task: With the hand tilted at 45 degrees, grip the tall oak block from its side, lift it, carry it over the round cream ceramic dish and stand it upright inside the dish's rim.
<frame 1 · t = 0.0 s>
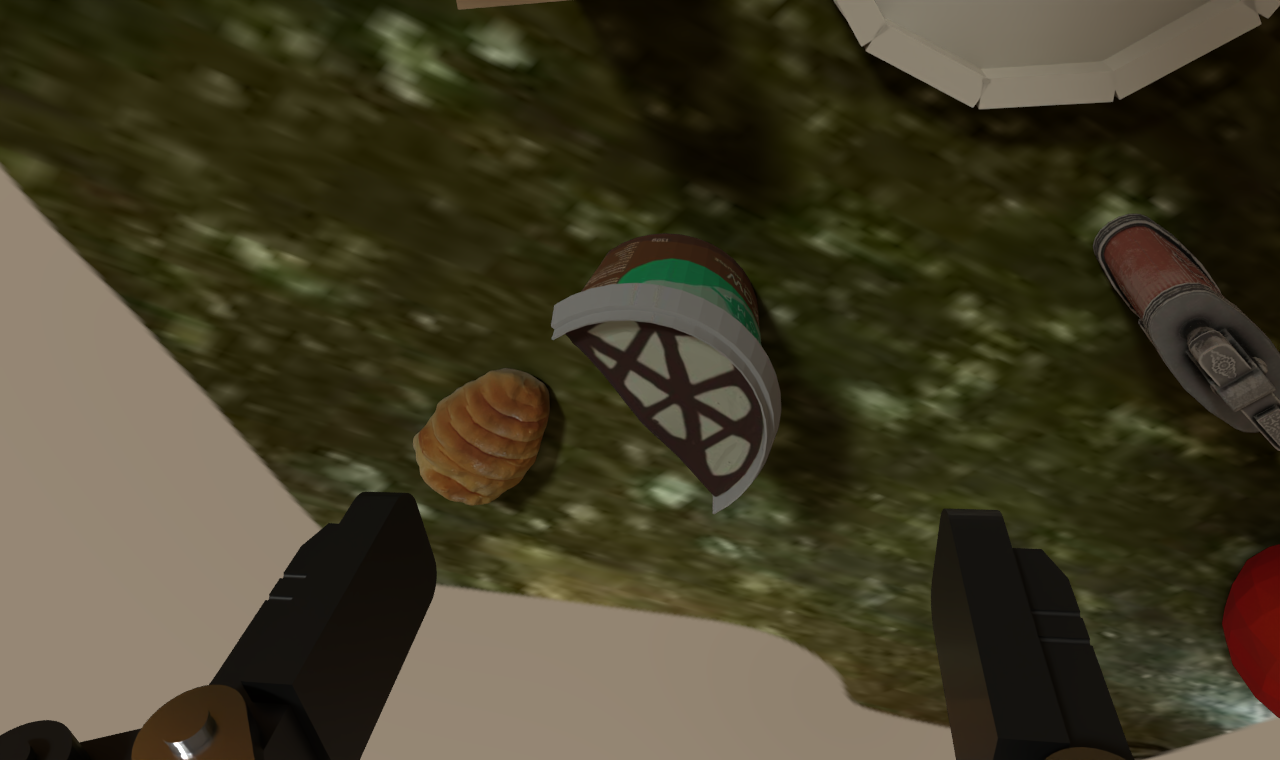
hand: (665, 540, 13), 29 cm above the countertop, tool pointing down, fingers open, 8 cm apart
food container: (712, 286, 43), on the countertop
lighter: (1157, 277, 40), on the countertop
pastry: (488, 420, 51), on the countertop
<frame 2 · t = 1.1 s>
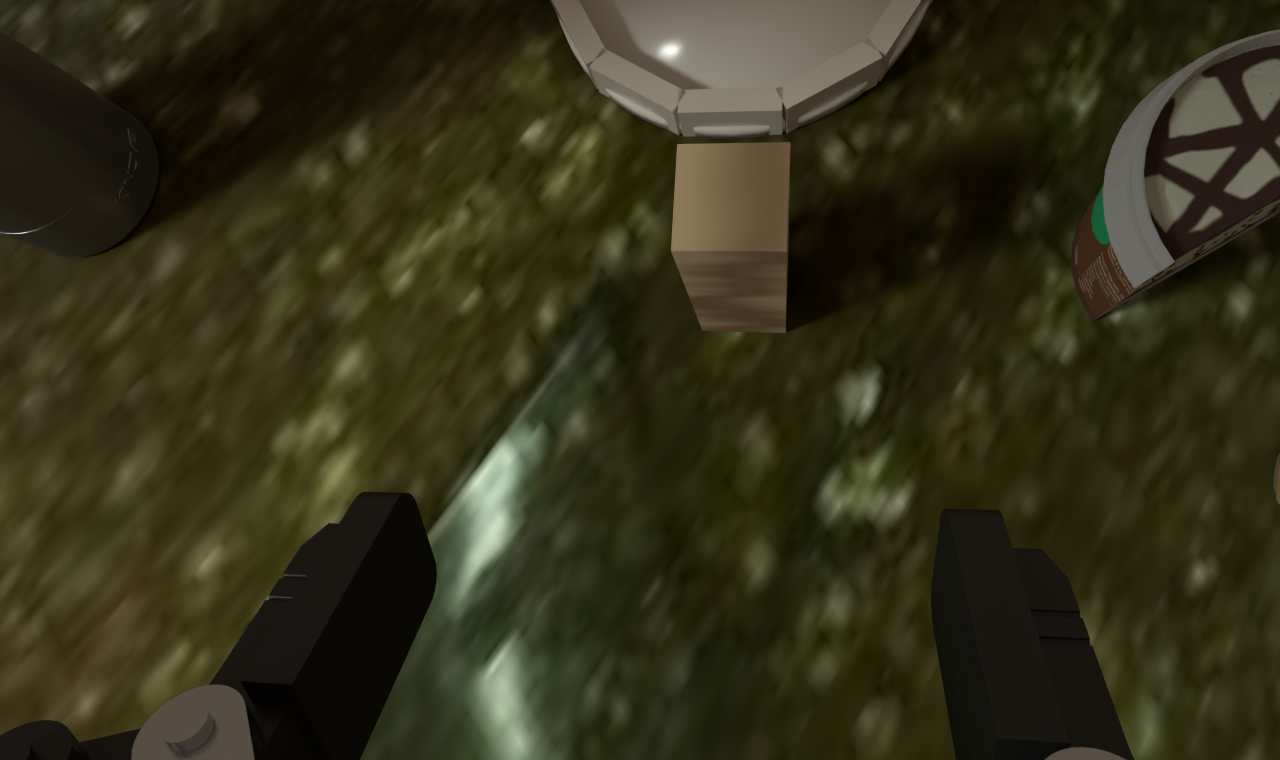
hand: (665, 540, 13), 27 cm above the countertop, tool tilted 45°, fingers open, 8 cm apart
food container: (1140, 215, 39), on the countertop
oak block: (745, 292, 41), on the countertop
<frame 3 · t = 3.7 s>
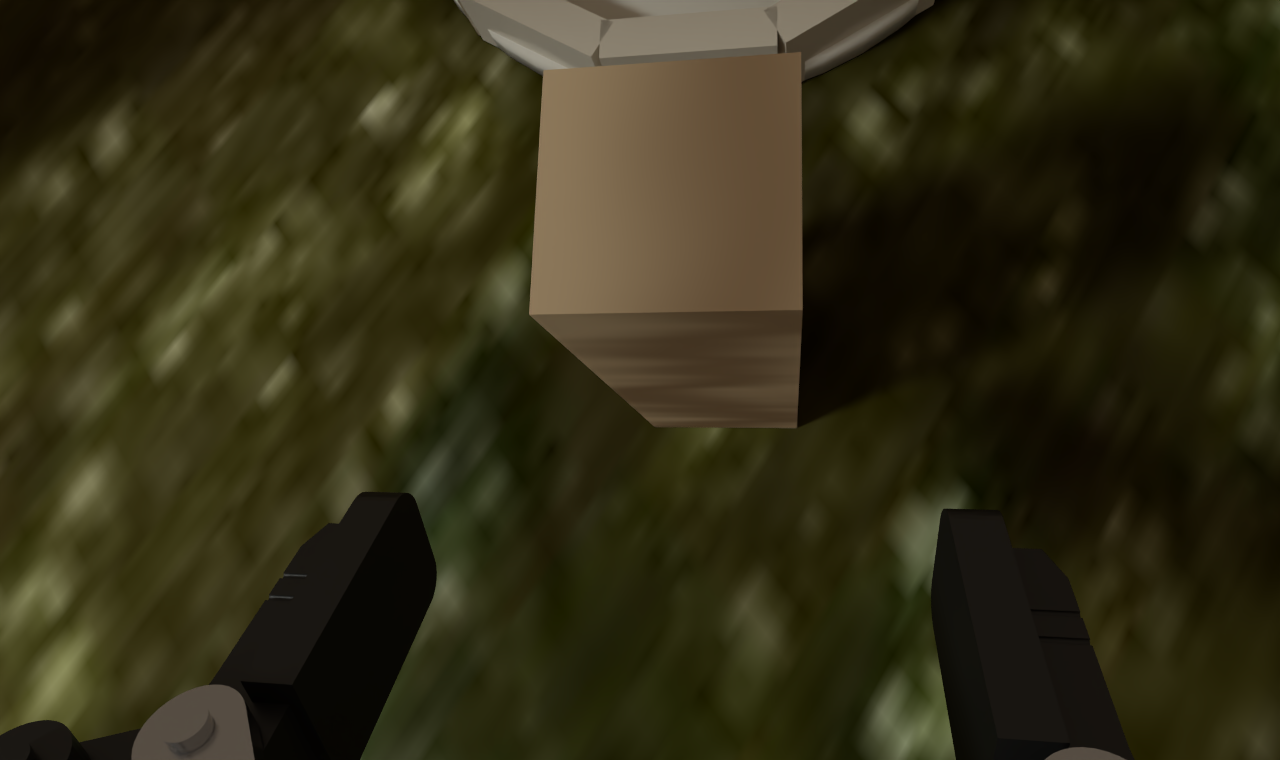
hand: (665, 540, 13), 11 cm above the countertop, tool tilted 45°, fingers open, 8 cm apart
oak block: (725, 358, 24), on the countertop
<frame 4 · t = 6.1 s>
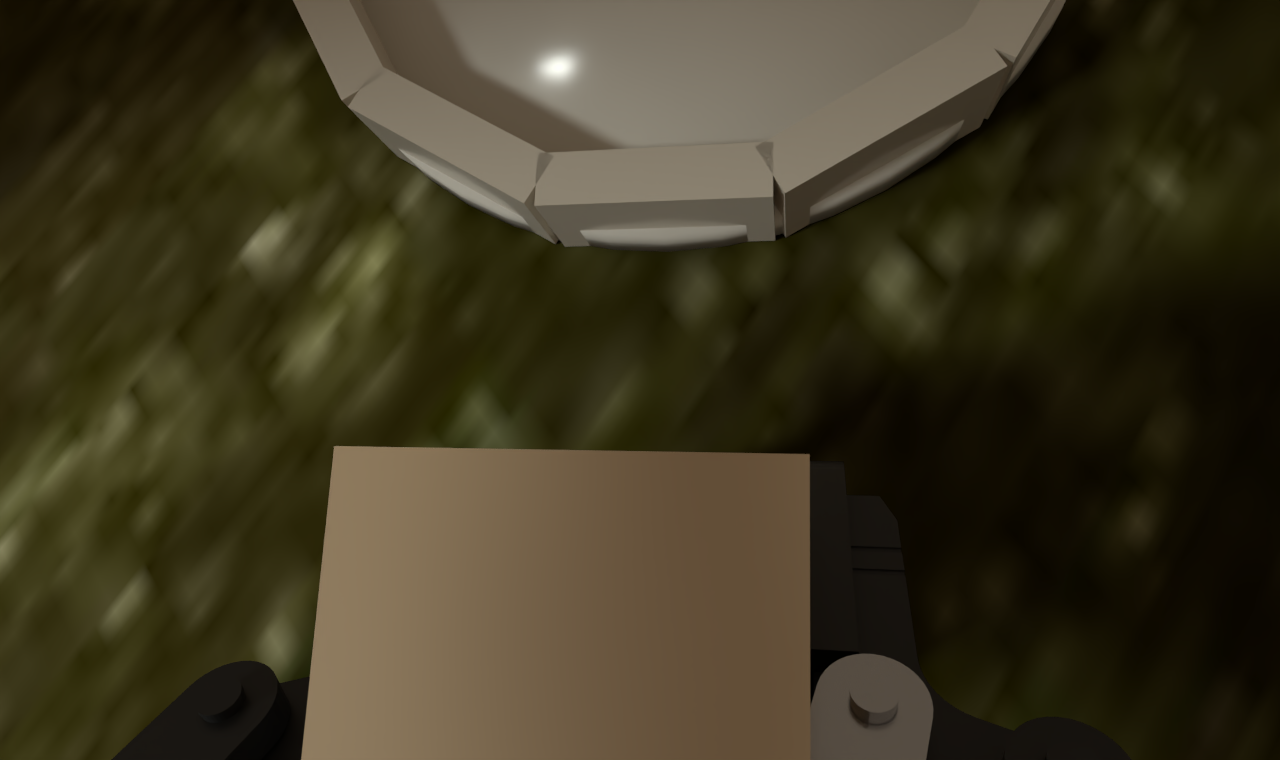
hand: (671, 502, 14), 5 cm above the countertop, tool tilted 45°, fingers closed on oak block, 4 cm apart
oak block: (703, 606, 18), on the countertop, touching gripper
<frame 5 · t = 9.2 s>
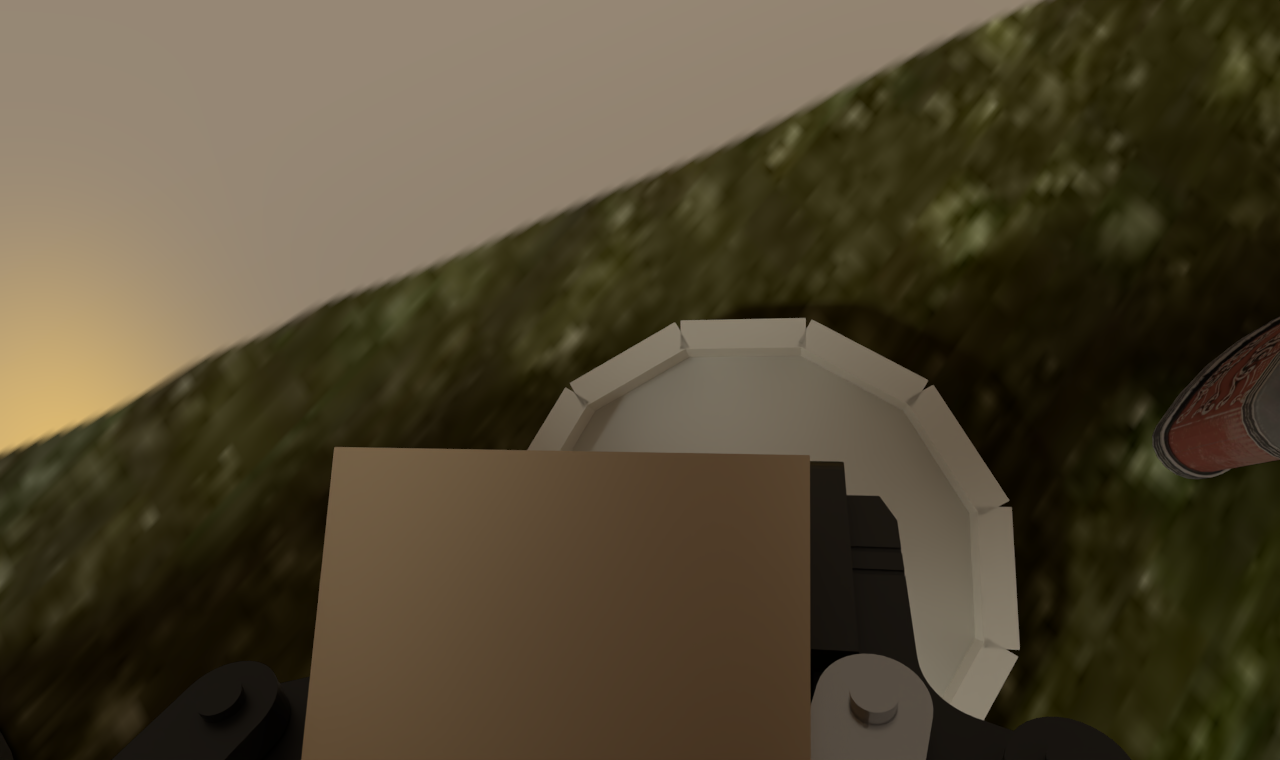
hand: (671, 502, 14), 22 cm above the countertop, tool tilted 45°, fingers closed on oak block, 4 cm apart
lighter: (1240, 397, 33), on the countertop
oak block: (703, 606, 18), point 17 cm above the countertop, touching gripper
round dish: (745, 567, 34), on the countertop
when the fingers open (7 cm above the countertop, at t = 12.4 s): oak block drops 1 cm, resting on round dish.
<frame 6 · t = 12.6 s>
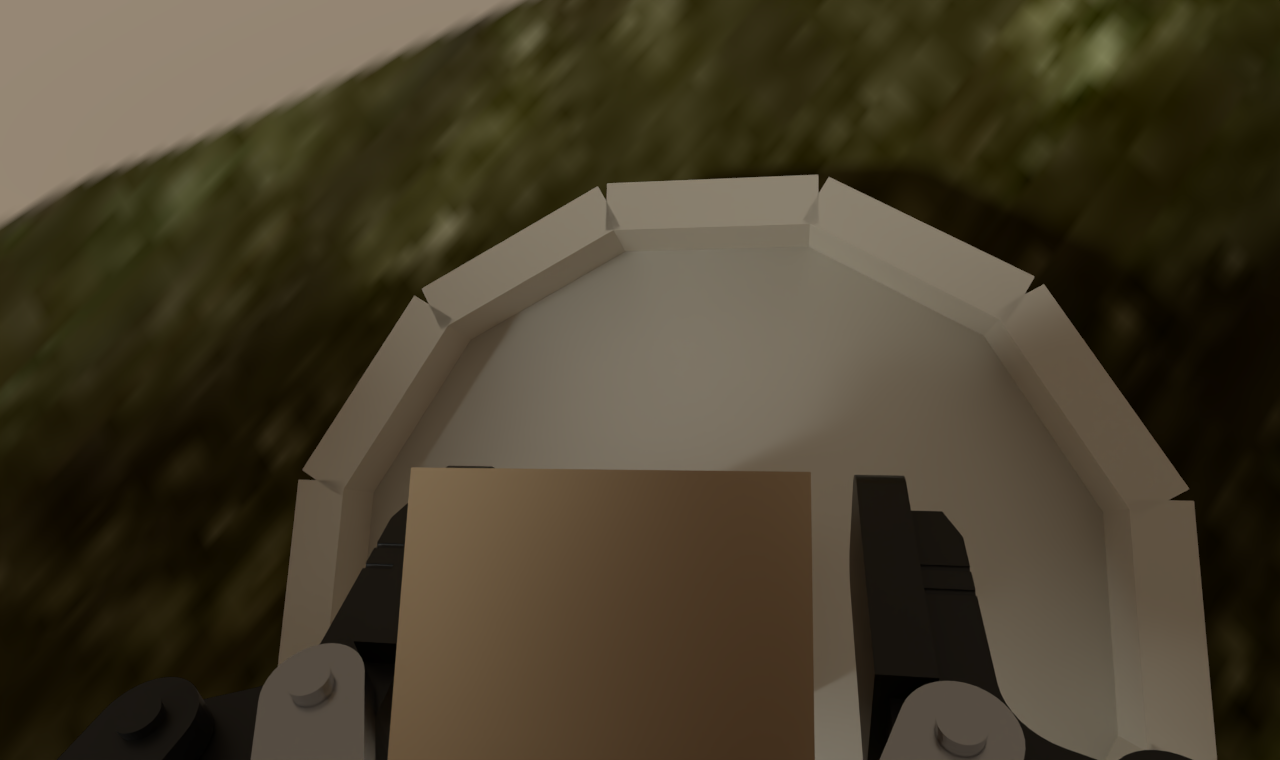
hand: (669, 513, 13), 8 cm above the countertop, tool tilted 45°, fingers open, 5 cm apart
oak block: (706, 605, 19), point 1 cm above the countertop, touching round dish
round dish: (712, 599, 20), on the countertop
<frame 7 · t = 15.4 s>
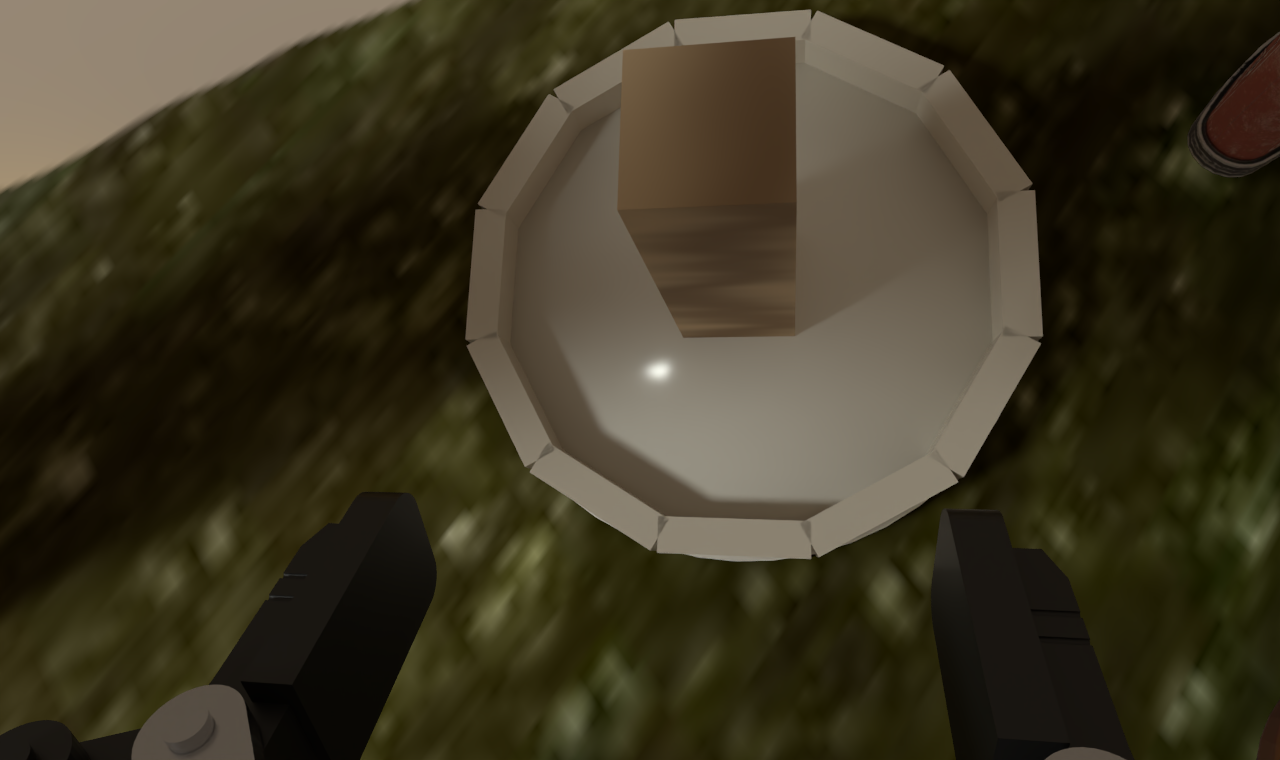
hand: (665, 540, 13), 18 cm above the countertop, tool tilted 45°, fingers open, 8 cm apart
oak block: (738, 283, 31), point 1 cm above the countertop, touching round dish
round dish: (741, 289, 32), on the countertop
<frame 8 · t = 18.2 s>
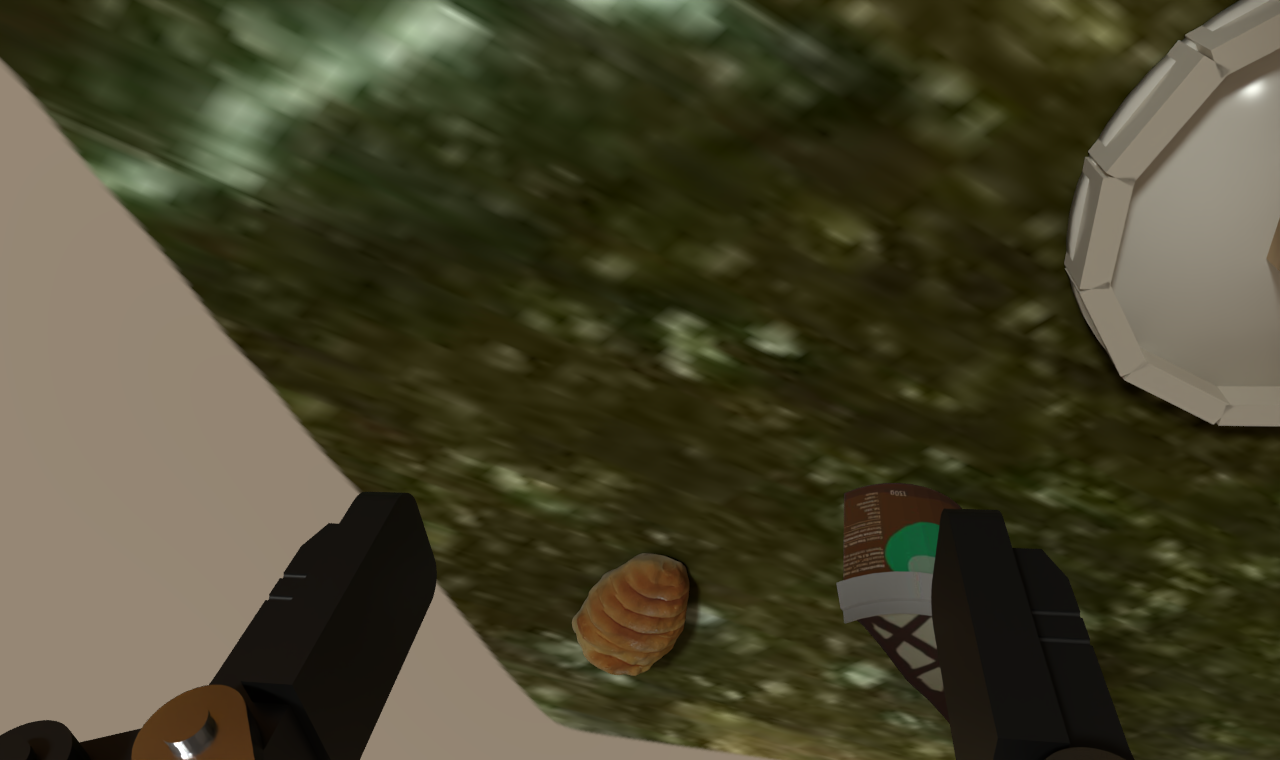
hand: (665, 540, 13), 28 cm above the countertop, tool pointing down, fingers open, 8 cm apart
food container: (933, 522, 48), on the countertop
pastry: (634, 595, 56), on the countertop
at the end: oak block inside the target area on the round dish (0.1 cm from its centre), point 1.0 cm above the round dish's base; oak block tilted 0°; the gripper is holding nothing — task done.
